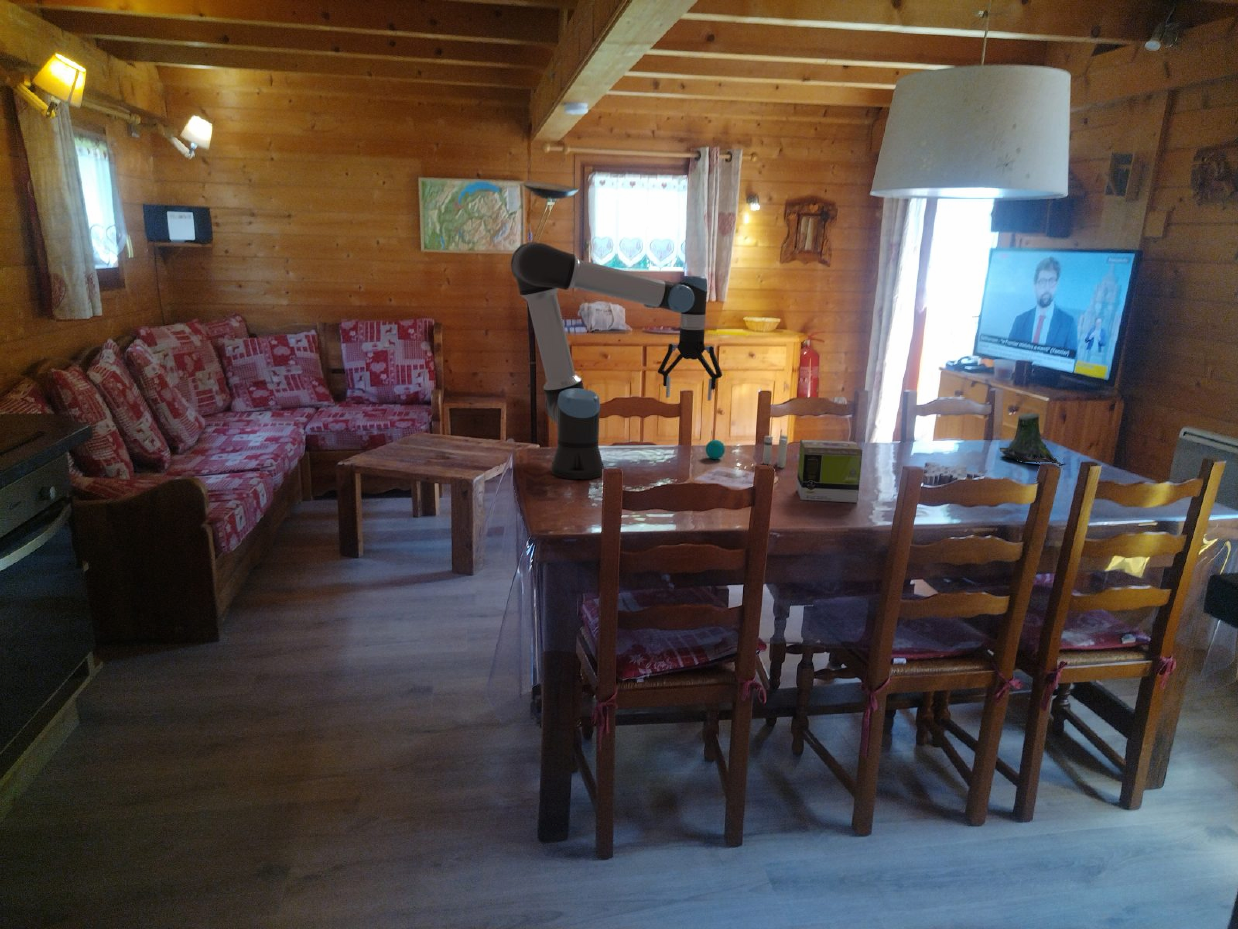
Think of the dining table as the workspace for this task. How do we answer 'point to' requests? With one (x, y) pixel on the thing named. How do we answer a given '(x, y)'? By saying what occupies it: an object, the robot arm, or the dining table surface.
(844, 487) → the tea box
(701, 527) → the dining table surface
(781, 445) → the pin
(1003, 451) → the tree stump
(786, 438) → the pin
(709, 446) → the ball
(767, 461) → the front pin
